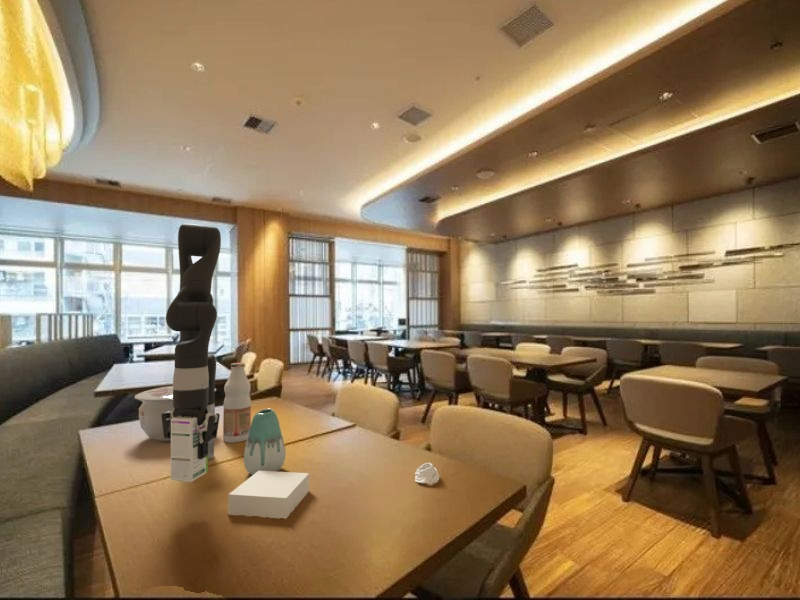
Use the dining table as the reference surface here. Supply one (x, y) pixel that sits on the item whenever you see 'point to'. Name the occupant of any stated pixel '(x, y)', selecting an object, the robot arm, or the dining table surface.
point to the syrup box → (186, 450)
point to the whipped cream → (426, 474)
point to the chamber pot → (155, 410)
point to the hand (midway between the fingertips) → (189, 456)
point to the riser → (269, 494)
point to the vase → (264, 443)
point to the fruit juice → (237, 405)
